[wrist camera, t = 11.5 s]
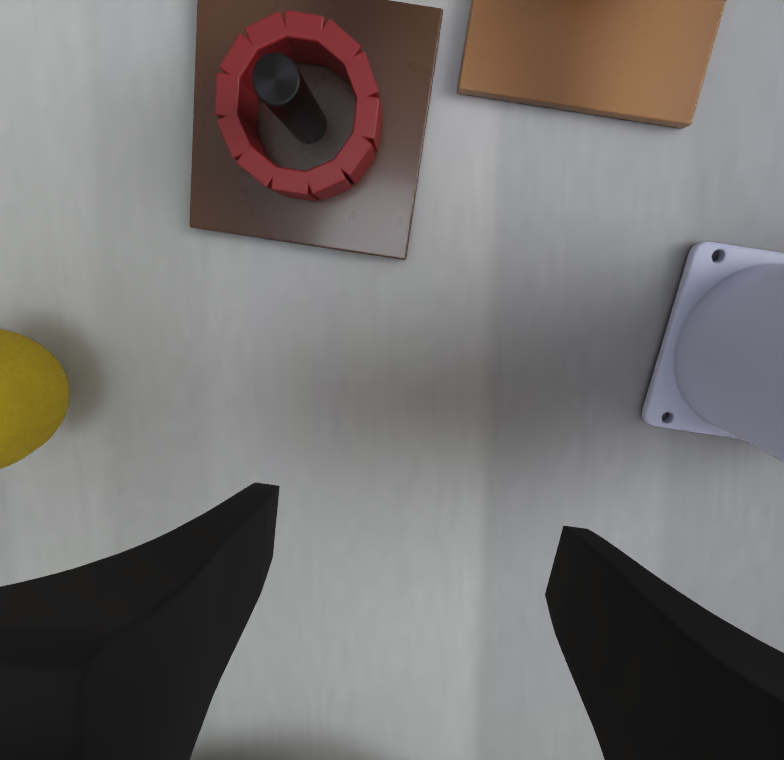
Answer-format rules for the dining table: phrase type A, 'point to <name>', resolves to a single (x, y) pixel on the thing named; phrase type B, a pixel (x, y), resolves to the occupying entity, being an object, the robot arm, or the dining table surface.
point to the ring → (301, 44)
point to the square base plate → (316, 126)
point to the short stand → (592, 55)
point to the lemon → (28, 396)
